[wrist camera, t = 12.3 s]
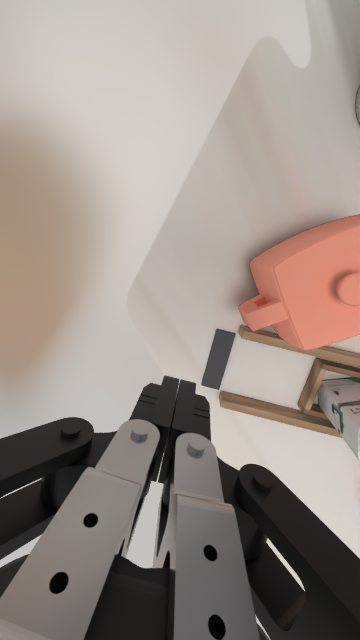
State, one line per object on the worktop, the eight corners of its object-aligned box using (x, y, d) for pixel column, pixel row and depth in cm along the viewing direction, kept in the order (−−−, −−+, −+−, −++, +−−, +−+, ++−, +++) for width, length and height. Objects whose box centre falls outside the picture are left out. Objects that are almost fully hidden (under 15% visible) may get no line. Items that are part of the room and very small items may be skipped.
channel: (241, 325, 40) (243, 330, 38) (415, 367, 40) (432, 376, 37) (219, 397, 44) (220, 407, 41) (379, 437, 43) (392, 450, 40)
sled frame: (315, 357, 41) (323, 364, 38) (395, 377, 40) (408, 384, 38) (297, 404, 43) (303, 413, 40) (372, 423, 42) (383, 433, 40)
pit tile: (216, 328, 41) (216, 329, 40) (235, 333, 41) (235, 334, 40) (201, 384, 43) (201, 385, 43) (218, 388, 43) (218, 389, 43)
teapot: (371, 198, 35) (481, 161, 21) (396, 284, 37) (509, 302, 23) (219, 267, 39) (227, 274, 25) (250, 341, 41) (273, 384, 27)
